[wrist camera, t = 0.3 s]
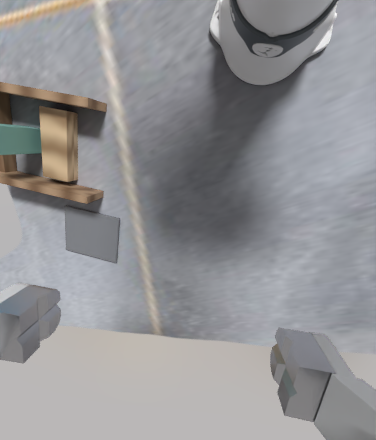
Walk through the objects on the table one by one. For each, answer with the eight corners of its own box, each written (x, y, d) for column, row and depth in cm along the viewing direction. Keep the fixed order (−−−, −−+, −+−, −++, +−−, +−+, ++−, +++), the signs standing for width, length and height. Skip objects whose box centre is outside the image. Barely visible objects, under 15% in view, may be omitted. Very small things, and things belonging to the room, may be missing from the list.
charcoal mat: (66, 205, 53) (64, 206, 52) (120, 218, 51) (118, 219, 50) (67, 248, 57) (66, 249, 56) (117, 261, 55) (115, 262, 55)
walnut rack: (106, 103, 43) (88, 97, 37) (103, 197, 50) (87, 203, 44) (2, 85, 46) (-30, 76, 40) (12, 176, 53) (-14, 179, 47)
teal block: (28, 126, 48) (-28, 121, 38) (44, 129, 47) (-8, 125, 37) (30, 149, 50) (-23, 150, 39) (45, 153, 49) (-4, 155, 39)
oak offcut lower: (53, 109, 46) (46, 107, 44) (79, 113, 45) (72, 112, 44) (56, 174, 51) (50, 175, 49) (79, 179, 50) (73, 180, 48)
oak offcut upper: (47, 107, 44) (38, 105, 42) (73, 112, 43) (66, 110, 42) (50, 174, 49) (43, 176, 47) (73, 180, 48) (67, 182, 47)
